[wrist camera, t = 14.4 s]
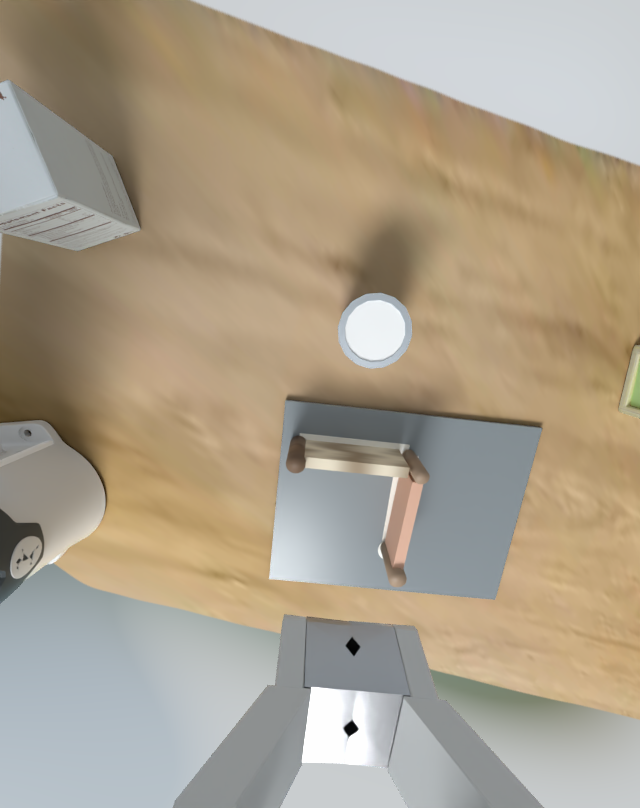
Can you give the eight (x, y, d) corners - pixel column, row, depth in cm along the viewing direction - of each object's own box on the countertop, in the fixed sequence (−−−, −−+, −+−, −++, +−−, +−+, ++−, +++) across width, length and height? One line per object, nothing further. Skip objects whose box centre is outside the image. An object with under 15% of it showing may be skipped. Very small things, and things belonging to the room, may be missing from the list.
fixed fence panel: (289, 450, 43) (285, 472, 37) (291, 434, 42) (286, 454, 37) (396, 461, 43) (408, 484, 38) (399, 445, 43) (412, 467, 37)
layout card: (269, 576, 48) (269, 579, 47) (285, 399, 42) (285, 400, 41) (493, 596, 49) (495, 600, 48) (539, 426, 43) (542, 428, 42)
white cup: (359, 371, 41) (367, 383, 34) (321, 323, 40) (322, 325, 33) (409, 333, 40) (427, 337, 33) (372, 282, 39) (383, 275, 32)
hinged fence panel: (401, 448, 43) (413, 468, 37) (418, 450, 43) (433, 471, 37) (378, 553, 46) (387, 586, 41) (394, 555, 46) (404, 588, 41)
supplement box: (45, 177, 36) (-93, 109, 24) (114, 154, 36) (8, 73, 24) (77, 254, 38) (-37, 226, 26) (143, 233, 38) (59, 195, 25)
